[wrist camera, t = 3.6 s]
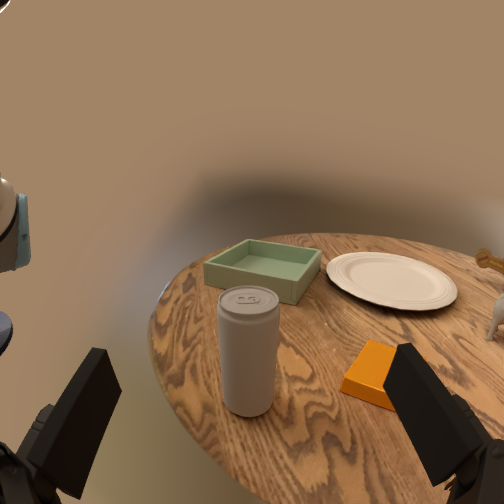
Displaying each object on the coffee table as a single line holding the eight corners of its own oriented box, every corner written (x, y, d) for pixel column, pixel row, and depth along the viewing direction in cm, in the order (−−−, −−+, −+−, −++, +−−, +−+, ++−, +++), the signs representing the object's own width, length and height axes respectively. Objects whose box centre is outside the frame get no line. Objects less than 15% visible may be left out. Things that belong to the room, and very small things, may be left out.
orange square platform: (338, 390, 25) (347, 362, 24) (364, 352, 31) (372, 325, 30) (405, 415, 20) (420, 387, 19) (420, 370, 26) (431, 343, 25)
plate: (369, 251, 70) (370, 244, 70) (466, 284, 48) (468, 277, 47) (295, 277, 54) (295, 268, 53) (431, 340, 31) (435, 329, 31)
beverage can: (275, 418, 22) (286, 313, 18) (223, 420, 22) (214, 315, 18) (269, 384, 27) (275, 283, 23) (223, 386, 26) (217, 285, 22)
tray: (204, 284, 50) (203, 262, 49) (247, 256, 65) (247, 238, 64) (295, 305, 43) (297, 281, 42) (320, 269, 58) (322, 250, 57)
